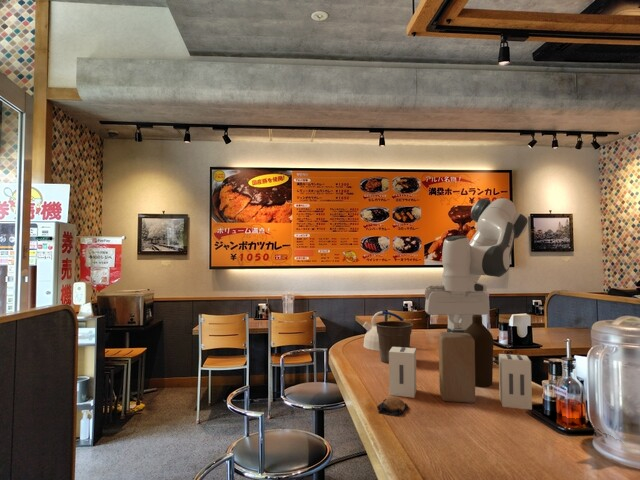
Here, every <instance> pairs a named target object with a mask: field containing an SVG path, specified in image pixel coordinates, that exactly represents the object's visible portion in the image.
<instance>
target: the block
mask: <svg viewBox="0 0 640 480" xmlns="http://www.w3.org/2000/svg"><path fill="white" fill-rule="evenodd" d="M438 359H439V360H438V361H439V362H438V369H439V370H438V373H439V375H438V377H439V378H438V379H439V392H440V396H441V399H442V401H444V402H452V403H453V402H454V403H464V404H465V403H466V404H473V403H474V404H475V402H476V386H475V341H474V339H473V337H472V336H471V335H470V334H468V333H454V332H447V331H441V332H439V335H438Z"/></svg>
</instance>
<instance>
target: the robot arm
mask: <svg viewBox="0 0 640 480" xmlns="http://www.w3.org/2000/svg"><path fill="white" fill-rule="evenodd" d="M470 217H471V218H470V219H472V220H473V221H474V222H475V223H477V230H476V231H475V233H474V234H473V236H472V237H471V239H470V240H469V237H468V236H466V235H454V236H453V235H452V236H447V237H446V238H445V239H444V241H443V244H442V245H443V246H442V254H441V255H442V256H441V259H442V260H441V261H442V262H441V263H442V266H443V267H442V268H443V271H442V282H441V284H442V285H429V286H428V287H426V289H425V290H424V296H425V305H424V311H425V313H426V314H427V315H429V316H447V327H446V332H454V333H464V331H465V330H466V329H467V328H468V327H469V326H470V325H471V324H472V316H473V315H482V316H483V315H486V316H487V315H488V314H489V313H490V309H491V308H490V299H489V295H488V294H487V285H486V284H483V283H480V282H478V281H479V279H480V278H481V276H488V277H496V278H499V277H500V278H501V277H503V276H504V275H505V274H506V273H507V272H508V271H509V269H510V266H511V265H510V264H511V255H512V252H513V251H512V250H513V247H514V244H515V243H514V242H515V239H518V238H519V237H521V236H522V235H523V234H524V233H525V232H526V230H527V228H528V221H529V220H528V218H527V217H526V216H525V215H524V214H522V213H519V212H518V211H517V208H516V205H515V204H514V203H513V201H512V200H510V199H508V198H505V197H501V198H497V199H494V200H491V199H490V198H484V197H483V198H480V199H478V200H477V201H475V202H474V204H473V205H472V207H471V210H470ZM495 361H496V358H495V357H494V356H493V362H495Z"/></svg>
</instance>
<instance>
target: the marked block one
mask: <svg viewBox="0 0 640 480" xmlns="http://www.w3.org/2000/svg"><path fill="white" fill-rule="evenodd" d="M388 391H389V392H388V395H389V396H393V397H394V396H395V397H405V398H415V397H416V392H417V348H416V347H410V348H404V347H392V348H391V349H390V351H389V363H388Z"/></svg>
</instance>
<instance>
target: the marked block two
mask: <svg viewBox="0 0 640 480" xmlns="http://www.w3.org/2000/svg"><path fill="white" fill-rule="evenodd" d="M498 371H499V372H498V375H499V376H498V382H499V383H498V384H499V385H498V386H499V387H498V388H499V391H498V392H499V400H500V404H501V406H502V407H503V408H510V409H511V408H512V409H520V410H521V409H522V410H532V409H533V401H532V400H533V395H532V394H533V393H532V361H531V359H530V358H529V357H528V356H527V355H522V354H507V353H498ZM532 411H533V410H532Z"/></svg>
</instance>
